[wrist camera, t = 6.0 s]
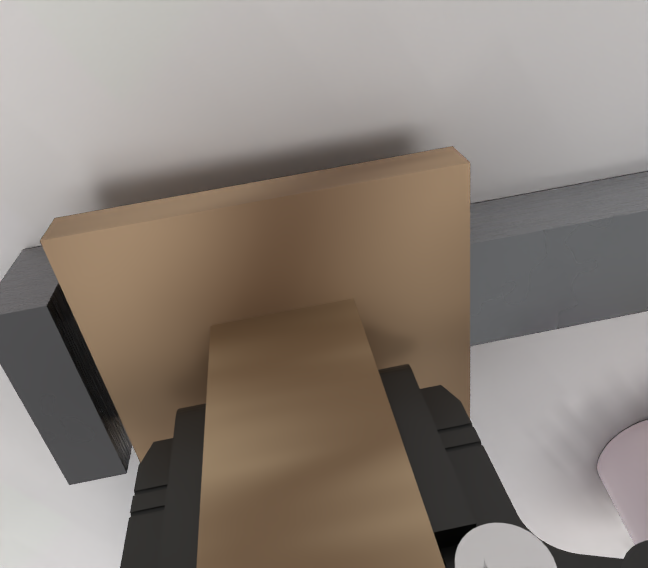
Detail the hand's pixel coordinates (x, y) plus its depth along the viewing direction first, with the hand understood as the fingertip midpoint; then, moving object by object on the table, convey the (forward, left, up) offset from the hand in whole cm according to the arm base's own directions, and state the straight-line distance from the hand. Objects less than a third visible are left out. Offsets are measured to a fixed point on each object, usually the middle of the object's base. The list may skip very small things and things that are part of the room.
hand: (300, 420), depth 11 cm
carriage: (0, 0, -5) cm, 5 cm away
